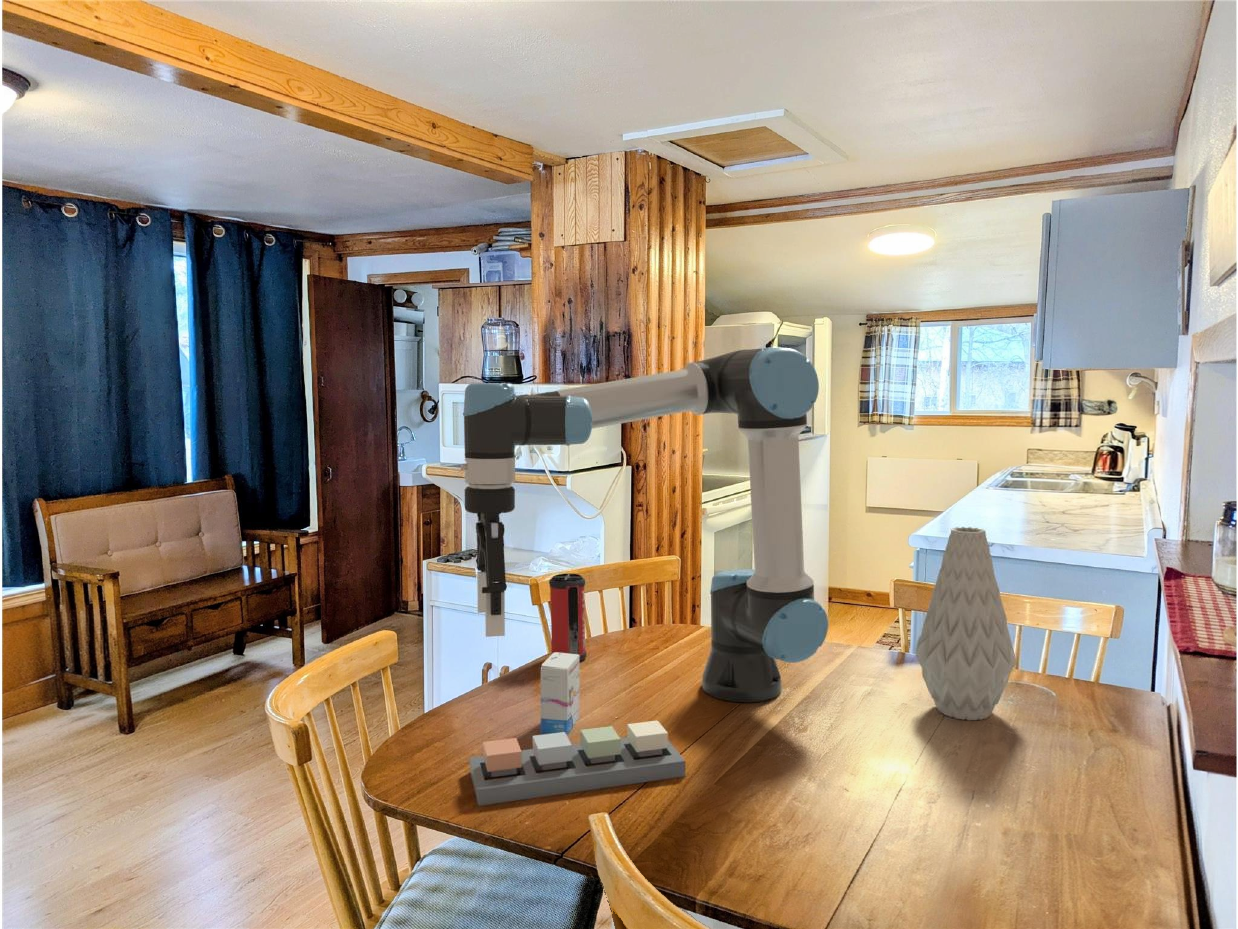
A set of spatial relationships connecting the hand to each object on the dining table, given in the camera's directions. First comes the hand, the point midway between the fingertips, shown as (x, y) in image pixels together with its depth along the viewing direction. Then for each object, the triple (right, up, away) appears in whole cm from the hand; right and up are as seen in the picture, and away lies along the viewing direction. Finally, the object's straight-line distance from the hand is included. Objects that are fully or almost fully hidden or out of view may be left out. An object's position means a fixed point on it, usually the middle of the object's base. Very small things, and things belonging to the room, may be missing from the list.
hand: (490, 623), depth 132 cm
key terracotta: (+2, -21, -4) cm, 21 cm away
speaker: (+9, -18, +54) cm, 57 cm away
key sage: (+17, -20, 0) cm, 26 cm away
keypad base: (+13, -23, -1) cm, 26 cm away
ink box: (+10, -21, +18) cm, 29 cm away
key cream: (+24, -20, +2) cm, 31 cm away
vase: (+81, -20, +22) cm, 86 cm away
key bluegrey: (+10, -21, -2) cm, 23 cm away
